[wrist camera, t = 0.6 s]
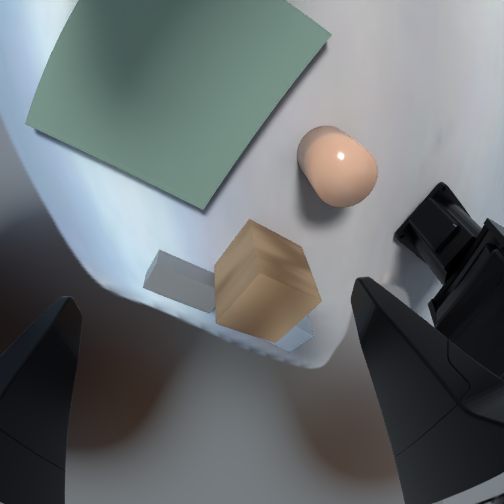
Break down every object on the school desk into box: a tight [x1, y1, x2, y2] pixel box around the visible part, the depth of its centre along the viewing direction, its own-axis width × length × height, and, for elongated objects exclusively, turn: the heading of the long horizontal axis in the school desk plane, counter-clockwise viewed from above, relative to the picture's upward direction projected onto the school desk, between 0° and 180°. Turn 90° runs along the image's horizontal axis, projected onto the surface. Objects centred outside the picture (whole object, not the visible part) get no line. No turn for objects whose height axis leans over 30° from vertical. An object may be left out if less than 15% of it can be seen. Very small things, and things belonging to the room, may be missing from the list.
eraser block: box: [263, 315, 314, 352], centre depth 28 cm, size 4×3×3 cm
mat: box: [25, 0, 332, 210], centre depth 15 cm, size 14×14×1 cm
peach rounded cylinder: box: [297, 126, 378, 207], centre depth 18 cm, size 4×4×4 cm
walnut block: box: [214, 219, 322, 343], centre depth 22 cm, size 5×5×6 cm
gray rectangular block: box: [143, 250, 215, 313], centre depth 25 cm, size 6×3×2 cm, turn 56°
